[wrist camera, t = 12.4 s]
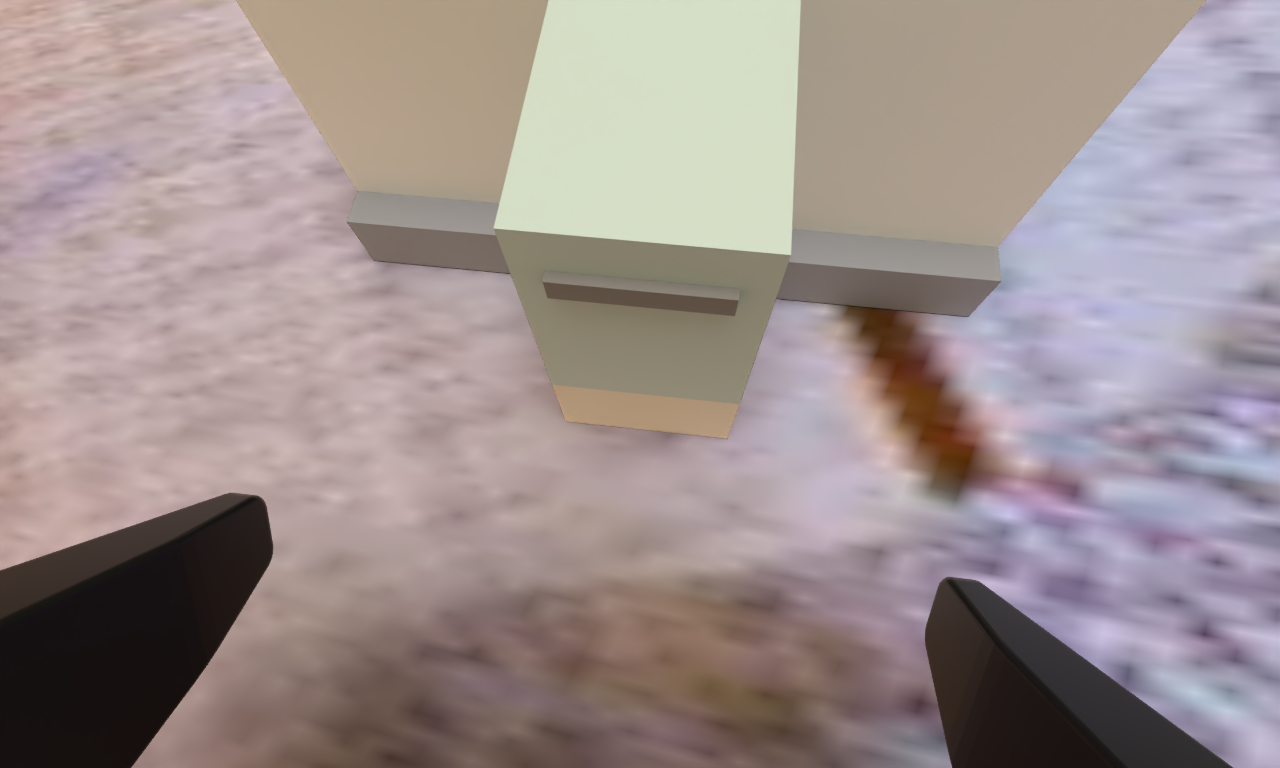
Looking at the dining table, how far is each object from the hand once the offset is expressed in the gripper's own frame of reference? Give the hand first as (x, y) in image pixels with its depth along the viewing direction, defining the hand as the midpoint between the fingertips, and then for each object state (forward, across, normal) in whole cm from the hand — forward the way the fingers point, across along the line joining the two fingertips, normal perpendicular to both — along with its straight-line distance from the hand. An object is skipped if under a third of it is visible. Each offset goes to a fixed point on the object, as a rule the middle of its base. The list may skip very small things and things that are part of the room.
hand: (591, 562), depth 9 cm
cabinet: (+13, 0, +2) cm, 13 cm away
